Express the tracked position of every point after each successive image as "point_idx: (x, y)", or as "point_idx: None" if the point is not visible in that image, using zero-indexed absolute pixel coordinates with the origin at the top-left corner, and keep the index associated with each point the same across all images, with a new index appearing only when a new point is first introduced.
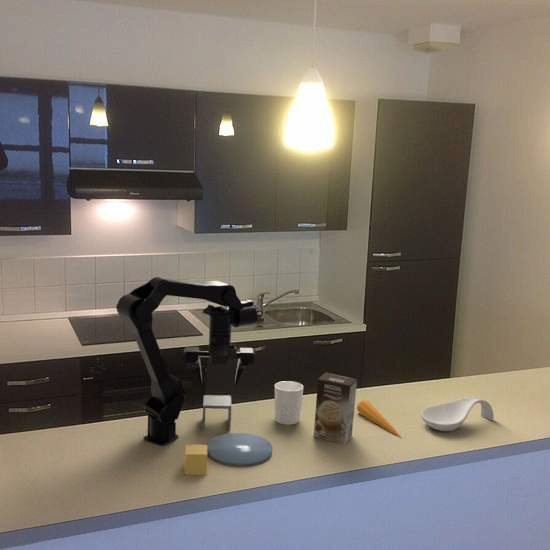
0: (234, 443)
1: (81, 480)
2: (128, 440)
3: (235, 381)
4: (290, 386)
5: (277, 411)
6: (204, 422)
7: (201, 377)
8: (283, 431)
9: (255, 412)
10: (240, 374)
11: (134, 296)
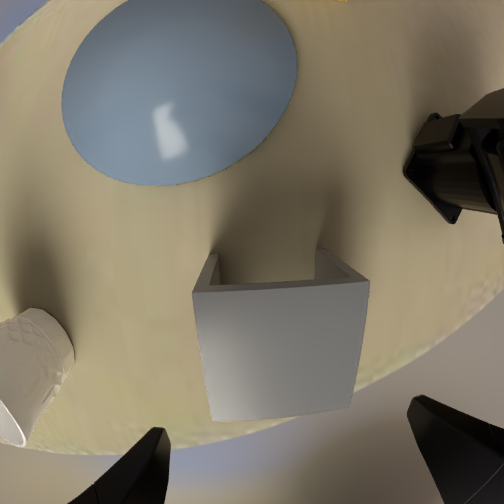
0: (186, 80)
1: (488, 20)
2: None
3: (150, 456)
4: (8, 425)
5: (44, 344)
6: (326, 256)
7: (448, 435)
8: (38, 258)
9: (140, 399)
10: (86, 494)
11: None
